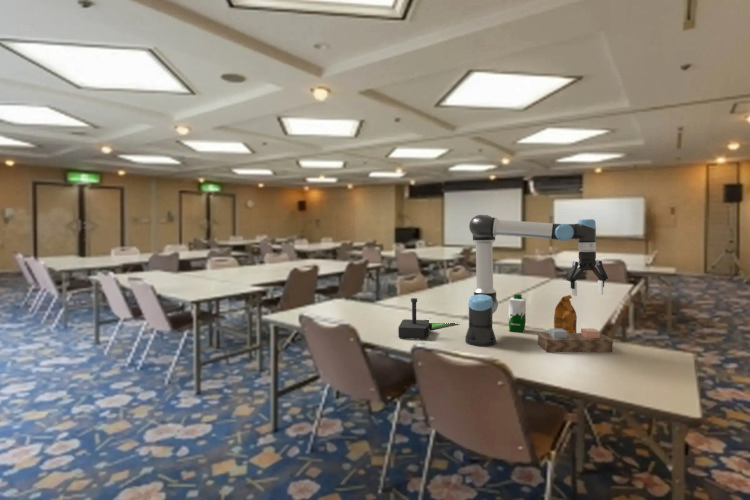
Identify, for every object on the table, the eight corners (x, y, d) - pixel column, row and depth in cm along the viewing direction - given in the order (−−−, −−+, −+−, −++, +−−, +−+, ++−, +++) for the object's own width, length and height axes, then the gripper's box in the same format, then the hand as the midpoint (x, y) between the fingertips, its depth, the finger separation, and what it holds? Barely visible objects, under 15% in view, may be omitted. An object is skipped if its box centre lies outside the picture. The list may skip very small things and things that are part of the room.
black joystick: (429, 340, 218) (429, 302, 217) (398, 339, 222) (397, 301, 221) (432, 331, 237) (432, 296, 236) (403, 330, 240) (402, 295, 239)
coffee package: (579, 336, 221) (580, 295, 219) (570, 341, 212) (570, 298, 211) (560, 333, 228) (561, 293, 227) (550, 337, 219) (551, 296, 218)
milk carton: (526, 329, 237) (526, 294, 236) (523, 333, 229) (524, 297, 228) (510, 328, 241) (510, 293, 240) (507, 331, 233) (507, 296, 232)
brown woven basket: (546, 352, 195) (546, 339, 195) (537, 344, 207) (537, 333, 206) (612, 352, 194) (612, 339, 193) (599, 345, 206) (600, 332, 205)
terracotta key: (586, 342, 197) (586, 331, 196) (580, 338, 203) (581, 328, 202) (599, 342, 197) (599, 331, 196) (593, 338, 202) (593, 328, 202)
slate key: (554, 342, 197) (554, 331, 197) (549, 338, 203) (549, 328, 203) (567, 342, 197) (567, 331, 197) (561, 338, 203) (562, 328, 203)
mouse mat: (437, 318, 271) (437, 316, 271) (462, 324, 253) (462, 322, 253) (404, 324, 255) (404, 322, 255) (429, 331, 237) (429, 329, 237)
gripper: (567, 252, 197) (568, 297, 198) (616, 250, 200) (616, 294, 202) (558, 251, 205) (559, 294, 206) (605, 249, 208) (605, 292, 209)
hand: (587, 294), depth 204 cm, fingers open, 13 cm apart
